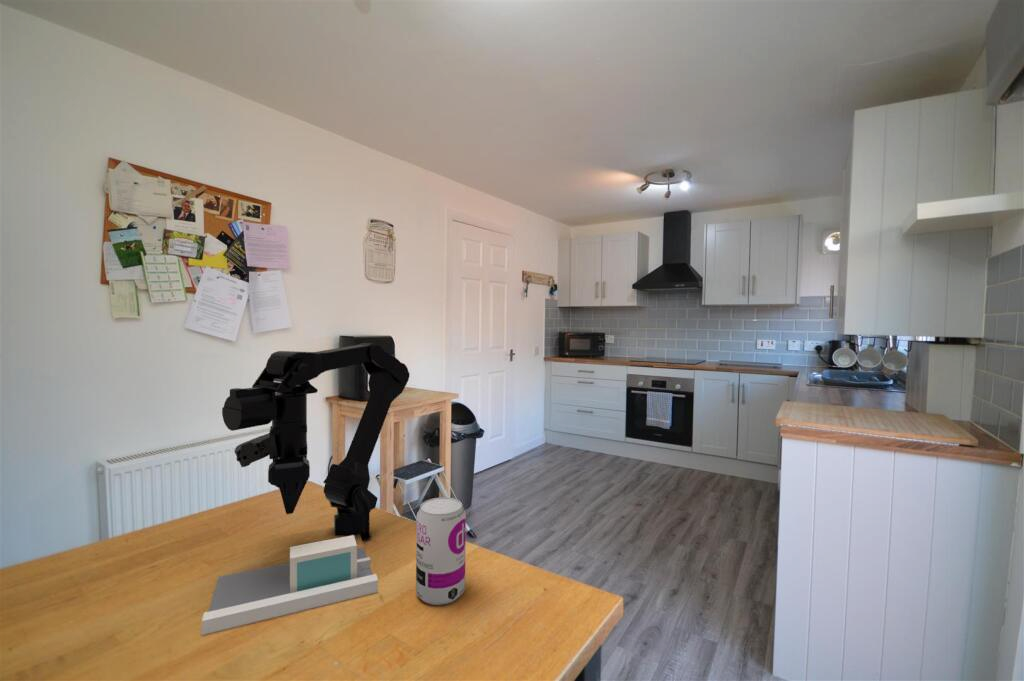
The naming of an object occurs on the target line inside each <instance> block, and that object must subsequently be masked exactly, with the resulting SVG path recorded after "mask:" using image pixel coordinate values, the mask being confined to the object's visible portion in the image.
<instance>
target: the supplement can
mask: <svg viewBox="0 0 1024 681" xmlns="http://www.w3.org/2000/svg"><path fill="white" fill-rule="evenodd" d="M466 517H467V514H466V511H465V508H464V507H463V504H462V502H461V501H460V500H459V499H457V498H453V497H448V496H447V497H443V496H442V497H435V498H430V499H427V500H425V501H423V502H421V504H420V506H419V510H418V511H417V513H416V523H415V524H416V529H415V530H416V531H415V532H416V536H415V538H416V542H415V544H416V546H415V550H416V551H415V552H416V553H415V554H416V555H415V558H416V559H415V560H416V564H415V567H416V568H415V592H416V593H415V594H416V595H417V596H418V598H419V599H420V600H422V602H424V603H426V604H428V605H433V606H444V605H448V604H451V603H453V602H455V601H457V600H458V598H459V597H460V596H461V595H463V594H464V592H465V588H466V551H467V549H466V545H467V544H466V542H467V541H466V540H467V538H466V537H467V536H466V532H467V530H466V529H467V528H466V526H467V521H466V520H467V518H466Z"/></svg>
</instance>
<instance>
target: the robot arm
mask: <svg viewBox="0 0 1024 681" xmlns="http://www.w3.org/2000/svg"><path fill="white" fill-rule="evenodd" d="M360 364H361V365H362V368H363V370H364V371H365V372H366V373H367V374H368V375H369V379H368V389H369V397H368V400H367V402H366V405H365V407H364V410H363V413H362V414H361V417H360V420H359V423H358V425H357V428H356V430H355V433H354V435H353V437H352V440H351V442H350V446H349V447H348V450H347V453H346V455H345V457H344V459H343V460H342V461H340V463H338V464H336V463H332V464H331V465H330V466H329V470H328V473H327V476H326V478H325V479H324V480H323V484H324V486H323V494H324V496H325V499H326V500H327V501H328V502H329V505H330V507H331V508H336V514H335V515H334V516H333V532H334V536H343V537H346V536H351V535H354V536H360V539H361V542H362V541H368V540H371V539H372V535H371V533H370V513H371V511H372V510H374V509H375V508H376V506H377V502H378V497H377V496H376V495H375V494H374V493H373V492H371V491H370V490H369V485H370V480H371V476H370V472H369V471H370V470H369V463H370V460H371V458H372V455H373V452H374V450H375V447H376V445H377V442H378V439H379V436H380V434H381V432H382V428H383V426H384V423H385V421H386V418H387V415H388V412H389V410H390V407H391V405H392V403H393V401H395V400H396V399H397V398H398V397H399V396H400V395H401V394H402V393H403V391H404V390H405V388H406V386H407V385H408V381H410V380H409V379H410V372H409V371H410V370H409V369H408V366H407V365H406V364H405V363H403V362H401V361H400V360H399V359H398V358H396V357H395V356H393V355H392V354H390V353H388V351H385V350H384V349H383V348H382V347H381V346H380V345H378V344H377V343H368V342H361V343H359V344H356V345H350V346H343V347H338V348H331V349H324V350H319V351H318V350H317V351H294V350H292V351H291V350H290V351H289V350H278V351H275V352H273V353H271V354H270V356H269V357H268V359H267V362H266V364H265V367H264V369H263V370H262V371H261V373H260V374H259V376H258V378H257V379H256V380H255V382H254V383H253V385H252V386H251V387H247V388H240V387H239V388H238V387H236V388H231V389H229V396H228V397H227V398H225V400H224V401H225V402H224V404H223V407H222V408H221V411H222V412H221V415H222V420H223V422H224V425H225V426H226V428H227V429H228V430H229V431H231V432H232V431H233V432H234V431H239V430H244V429H248V428H249V429H250V428H255V427H260V426H264V425H269V424H270V423H271V426H270V429H269V432H268V433H265V434H263V435H259V436H257V437H254V438H252V439H249V440H247V441H245V442H242V443H239V444H238V445H237V446H236V447H235V448H234V455H235V456H236V461H237V462H238V463H239V465H240V467H241V468H245V467H248V466H250V465H251V464H252V463H255V462H257V461H260V460H262V459H265V458H266V457H268V456H269V460H272V462H271V463H270V464H269V465H268V469H267V482H268V483H269V484H270V485H272V486H275V487H276V488H277V489H279V492H280V495H281V499H282V503H283V506H284V507H283V508H284V511H285V514H286V515H290V514H293V513H294V511H295V510H296V508H297V505H298V502H299V500H300V498H301V495H302V493H303V491H304V488H305V487H306V484H307V482H308V481H309V479H310V476H311V474H310V473H311V472H310V471H311V470H310V469H311V467H310V461H309V459H308V441H307V440H308V438H307V437H308V434H307V433H308V418H307V417H308V414H307V413H308V411H307V410H308V409H307V407H308V404H307V403H308V402H307V399H308V398H307V395H310V394H311V395H312V394H316V393H318V388H316V387H315V386H314V385H312V384H311V380H314V379H316V378H318V377H319V376H320V375H321V374H323V373H325V372H327V371H328V372H329V371H333V370H337V369H342V368H347V367H350V366H355V365H360Z"/></svg>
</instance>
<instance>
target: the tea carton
mask: <svg viewBox="0 0 1024 681" xmlns="http://www.w3.org/2000/svg"><path fill="white" fill-rule="evenodd" d="M357 549H358V544H357V541H356V537H355V535H351V536H341V537H336V538H331V539H326V540H320V541H315V542H309V543H305V544H304V543H303V544H299V545H294V546H290V547H289V562H290V593H294V592H298V591H303V590H307V589H311V588H316V587H320V586H325V585H329V584H333V583H338V582H342V581H347V580H351V579H355V578H357Z"/></svg>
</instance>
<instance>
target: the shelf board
mask: <svg viewBox="0 0 1024 681" xmlns="http://www.w3.org/2000/svg"><path fill="white" fill-rule="evenodd" d="M377 593H379V579H378V576H377V573H373V572H372V568H371V557H370V556H368V555H367V552H366V549H365V547H360V548H357V578H355V579H351V580H347V581H342V582H338V583H333V584H329V585H325V586H320V587H316V588H311V589H307V590H303V591H298V592H294V593H290V561H289V562H285V563H280V564H276V565H269V566H265V567H259V568H255V569H249V570H245V571H239V572H236V573H235V572H234V573H229V574H225V575H218V579H217V582H216V586H215V589H214V591H213V595H212V599H211V602H210V606H209V610H208V611H206V612H203V616H202V619H201V636H205V635H206V636H207V635H209V634H213V633H218V632H222V631H226V630H229V629H234V628H238V627H242V626H246V625H250V624H255V623H257V622H258V623H259V622H262V621H267V620H271V619H275V618H278V617H283V616H286V615H292V614H294V613H299V612H304V611H308V610H311V609H315V608H319V607H324V606H327V605H331V604H335V603H340V602H343V601H344V602H345V601H349V600H352V599H355V598H360V597H364V596H368V595H373V594H377Z"/></svg>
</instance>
